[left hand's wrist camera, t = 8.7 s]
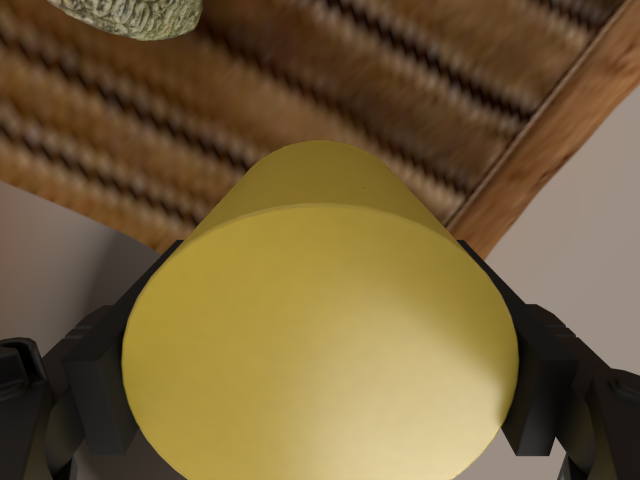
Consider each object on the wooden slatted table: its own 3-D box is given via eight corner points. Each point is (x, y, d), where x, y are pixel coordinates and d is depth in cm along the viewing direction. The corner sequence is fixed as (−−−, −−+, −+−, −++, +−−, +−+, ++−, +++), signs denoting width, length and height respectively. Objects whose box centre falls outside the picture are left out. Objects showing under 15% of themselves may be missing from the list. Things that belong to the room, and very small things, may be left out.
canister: (282, 342, 20) (251, 555, 11) (187, 196, 17) (30, 319, 8) (442, 275, 18) (562, 455, 9) (368, 101, 15) (438, 114, 6)
